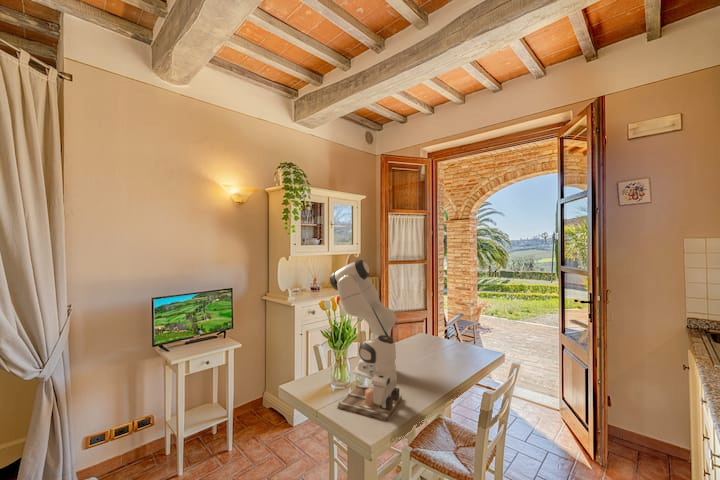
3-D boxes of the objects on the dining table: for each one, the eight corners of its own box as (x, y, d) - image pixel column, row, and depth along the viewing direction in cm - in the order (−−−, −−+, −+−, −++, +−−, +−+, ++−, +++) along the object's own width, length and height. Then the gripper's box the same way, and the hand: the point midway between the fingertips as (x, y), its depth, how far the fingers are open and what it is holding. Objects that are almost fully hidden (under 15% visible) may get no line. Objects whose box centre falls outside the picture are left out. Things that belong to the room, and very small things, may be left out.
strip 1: (359, 407, 139) (359, 395, 139) (366, 400, 145) (366, 388, 145) (388, 415, 133) (388, 402, 133) (394, 407, 139) (394, 395, 139)
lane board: (337, 408, 141) (337, 403, 141) (357, 388, 159) (357, 384, 159) (386, 421, 131) (386, 416, 131) (401, 398, 149) (401, 394, 149)
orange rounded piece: (363, 405, 139) (363, 392, 139) (368, 400, 144) (368, 387, 144) (373, 408, 137) (373, 394, 137) (378, 402, 142) (377, 389, 141)
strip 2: (367, 398, 147) (367, 386, 147) (373, 391, 153) (373, 380, 153) (395, 405, 141) (395, 393, 141) (400, 397, 147) (400, 386, 147)
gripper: (387, 363, 148) (387, 392, 148) (370, 382, 129) (370, 414, 129) (400, 365, 145) (400, 395, 145) (384, 385, 126) (384, 418, 127)
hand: (386, 404), depth 137 cm, fingers closed on strip 1, 3 cm apart
